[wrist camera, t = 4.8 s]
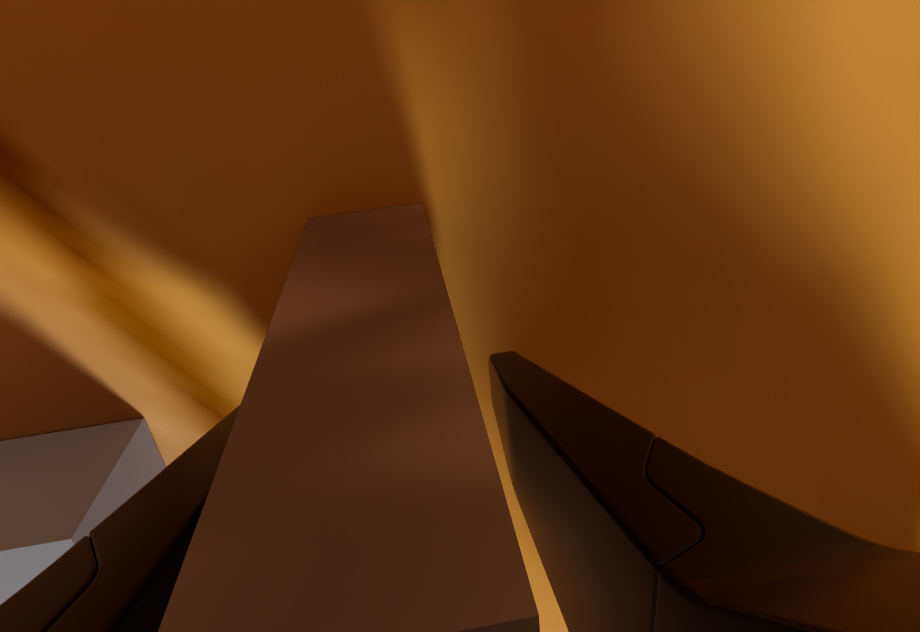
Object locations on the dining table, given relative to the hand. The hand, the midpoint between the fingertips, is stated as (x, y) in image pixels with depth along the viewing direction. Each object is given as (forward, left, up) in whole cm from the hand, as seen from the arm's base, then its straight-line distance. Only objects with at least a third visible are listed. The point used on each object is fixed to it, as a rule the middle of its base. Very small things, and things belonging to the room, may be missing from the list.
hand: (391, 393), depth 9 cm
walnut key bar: (0, 0, -2) cm, 2 cm away
